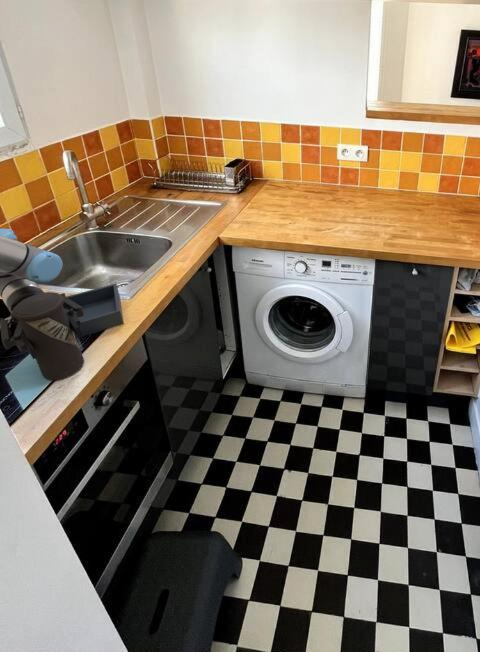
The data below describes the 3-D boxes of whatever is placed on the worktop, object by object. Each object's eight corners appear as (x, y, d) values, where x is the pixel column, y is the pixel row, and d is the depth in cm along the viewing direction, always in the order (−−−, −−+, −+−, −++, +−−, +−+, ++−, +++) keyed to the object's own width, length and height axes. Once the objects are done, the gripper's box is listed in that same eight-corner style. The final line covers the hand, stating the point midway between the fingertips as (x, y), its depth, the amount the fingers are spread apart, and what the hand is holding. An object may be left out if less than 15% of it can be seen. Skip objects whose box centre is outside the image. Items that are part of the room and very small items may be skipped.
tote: (58, 344, 100) (53, 330, 98) (61, 311, 111) (56, 299, 109) (123, 323, 107) (120, 310, 105) (119, 295, 118) (116, 283, 116)
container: (69, 383, 89) (42, 315, 81) (31, 381, 89) (-1, 313, 81) (94, 354, 97) (71, 289, 88) (58, 353, 97) (32, 287, 88)
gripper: (76, 292, 107) (111, 330, 95) (-23, 333, 93) (3, 384, 80) (68, 269, 104) (103, 306, 92) (-35, 308, 89) (-11, 357, 77)
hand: (57, 342), depth 86 cm, fingers closed on container, 8 cm apart
